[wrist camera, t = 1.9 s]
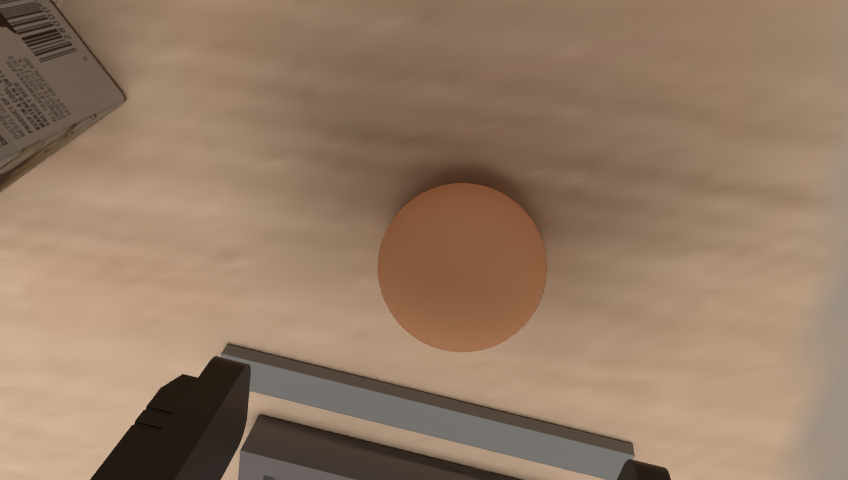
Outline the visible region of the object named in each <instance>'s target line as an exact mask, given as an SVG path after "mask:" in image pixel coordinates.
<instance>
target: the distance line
mask: <svg viewBox="0 0 848 480" xmlns="http://www.w3.org/2000/svg"><path fill="white" fill-rule="evenodd" d="M221 358H226V359H230V360H234V361H238V362H242V363H246V364H249V365H250V367H251V376H250V388H249V391H253V392H257V393H261V394H265V395H269V396H273V397H277V398H281V399H285V400H289V401H293V402H297V403H301V404H305V405H309V406H313V407H317V408H321V409H325V410H329V411H333V412H337V413H341V414H345V415H349V416H353V417H357V418H361V419H365V420H369V421H373V422H377V423H381V424H385V425H389V426H393V427H397V428H401V429H405V430H409V431H413V432H417V433H421V434H426V435H430V436H434V437H438V438H442V439H446V440H450V441H454V442H458V443H462V444H466V445H470V446H474V447H478V448H482V449H486V450H490V451H494V452H498V453H502V454H506V455H510V456H514V457H518V458H522V459H526V460H530V461H534V462H538V463H542V464H546V465H550V466H554V467H558V468H562V469H566V470H570V471H574V472H578V473H582V474H586V475H590V476H594V477H598V478H602V479H606V480H617V478H618V476H619V474H620V472H621V469H622V467H623V465H624V463H625V462H626V461H627V460H628V459H631V460H633V458H634V456H635V455H634V450H633V444H631V443H627V442H623V441H618V440H614V439H610V438H606V437H602V436H598V435H594V434H590V433H586V432H582V431H578V430H574V429H570V428H566V427H562V426H558V425H554V424H549V423H545V422H541V421H537V420H533V419H529V418H525V417H521V416H517V415H513V414H509V413H505V412H501V411H497V410H493V409H489V408H485V407H480V406H476V405H472V404H468V403H464V402H460V401H456V400H452V399H448V398H444V397H440V396H436V395H432V394H428V393H424V392H420V391H416V390H412V389H407V388H403V387H399V386H395V385H391V384H387V383H383V382H379V381H375V380H371V379H367V378H363V377H359V376H355V375H351V374H347V373H343V372H338V371H334V370H330V369H326V368H322V367H318V366H314V365H310V364H306V363H302V362H298V361H294V360H290V359H286V358H282V357H278V356H274V355H269V354H265V353H261V352H257V351H253V350H249V349H245V348H241V347H237V346H233V345H229V344H227V346H226V347H225V349H224V350H223V352H222V353H221Z"/></svg>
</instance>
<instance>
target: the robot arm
mask: <svg viewBox="0 0 848 480" xmlns="http://www.w3.org/2000/svg"><path fill="white" fill-rule="evenodd" d="M250 376H251V367H250V365H249V364H246V363H242V362H238V361H234V360H230V359H226V358H221V357H217V356H215V357H213V358H212V359H211V360H210V362H209V363H208V365H207V366H206V367H205V369H204V370H203V372H202V373H201V375H200V376H199V377H198V378H196V377H192V376H188V375H184V374H182V375H181V376H179V377H177V378H176V379H174V380H173V381H171V382H169V383H168V384H166V385H165V386H163V387H161V388H160V390H159V391H158V392H157V393H156V395H155V396H154V397H153V399H152V400H151V401H150V403H149V404H148V405H147V408H146V410H143V412H142V413H141V414H140V416H139V417H138V418H137V419H136V421H135V424H134V425H132V426H131V427H130V429H129V430H128V431H127V432H126V434H125V435H124V436H123V438H122V439H121V440H120V442H119V443H118V444H117V445H116V447H115V448H114V449H113V451H112V452H111V453H110V455H109V456H108V457H107V458H106V460H105V461H104V462H103V464H102V465H101V466H100V468H99V469H98V470H97V471H96V473H95V474H94V475H93V477H92V478H91V479H90V480H221V478H222V476H223V474H224V472H225V471H226V469H227V467H228V465H229V463H230V461H231V459H232V458H233V456H234V454H235V452H236V450H237V448H238V446H239V444H240V442H241V439H242V436H243V433H244V430H245V426H246V421H247V411H248V399H249V388H250ZM617 480H671V479H670V475H669V472H668V470H667V469H666V468H664V467H660V466H656V465H652V464H648V463H644V462H640V461H636V460H631V459H628V460H627V461H626V462H625V463H624V465H623V467H622V469H621V472H620V474H619V476H618V478H617Z"/></svg>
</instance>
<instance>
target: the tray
mask: <svg viewBox="0 0 848 480" xmlns="http://www.w3.org/2000/svg"><path fill="white" fill-rule="evenodd" d="M238 480H519V479H515V478H511V477H507V476H503V475H499V474H495V473H491V472H487V471H483V470H479V469H475V468H471V467H467V466H463V465H459V464H455V463H451V462H447V461H443V460H439V459H435V458H431V457H427V456H423V455H419V454H415V453H411V452H407V451H403V450H399V449H395V448H391V447H387V446H383V445H379V444H375V443H371V442H367V441H363V440H359V439H355V438H351V437H347V436H343V435H339V434H335V433H331V432H327V431H323V430H319V429H315V428H311V427H307V426H303V425H299V424H295V423H291V422H287V421H283V420H279V419H275V418H271V417H267V416H263V415H259V416H258V418H257V420H256V422H255V424H254V426H253V427H252V429H251V431H250V433H249V435H248V437H247V439H246V441H245V443H244V445H243V446H242V448H241V450H240V462H239V476H238Z"/></svg>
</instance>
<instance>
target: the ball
mask: <svg viewBox="0 0 848 480" xmlns="http://www.w3.org/2000/svg"><path fill="white" fill-rule="evenodd" d="M546 274H547V259H546V253H545V248H544V244H543V241H542V238H541V235H540V233H539V231H538V229H537V227H536V226H535V224H534V222H533V220H532V219H531V218H530V216H529V215H528V214H527V212H526V211H525V210H524V209H523V208H522V207H521V206H520V205H518V204H517V203H516V202H515V201H513V200H512V199H511V198H510V197H508V196H506V195H505V194H503V193H501V192H499V191H497V190H495V189H492V188H489V187H486V186H483V185H478V184H472V183H454V184H447V185H442V186H439V187H436V188H433V189H430V190H428V191H426V192H424V193H421V194H420V195H418V196H417V197H415V198H414V199H412V200H411V201H410V202H409V203H407V204H406V205H405V206H404V207H403V208H402V209H401V210H400V211H399V212H398V213H397V215H396V216H395V217H394V218H393V220H392V222H391V223H390V225H389V227H388V228H387V230H386V232H385V235H384V237H383V240H382V243H381V247H380V251H379V257H378V278H379V283H380V288H381V292H382V295H383V298H384V300H385V302H386V304H387V306H388V308H389V310H390V312H391V313H392V315H393V316H394V318H395V319H396V320H397V322H398V323H399V324H400V325H401V326H402V327H403V328H404V329H405V330H406V331H407V332H409V333H410V334H411V335H413V336H414V337H415V338H417V339H418V340H420V341H422V342H424V343H425V344H428V345H430V346H432V347H435V348H438V349H442V350H447V351H453V352H472V351H479V350H483V349H486V348H490V347H492V346H495V345H498V344H500V343H502V342H503V341H505V340H507V339H508V338H510V337H511V336H513V335H514V334H515V333H517V332H518V331H519V330H520V329H521V328H522V327H523V326H524V325H525V324H526V323H527V321H528V320H529V319H530V318H531V316H532V315H533V313H534V312H535V310H536V308H537V307H538V305H539V302H540V300H541V297H542V295H543V292H544V288H545V284H546Z"/></svg>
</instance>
